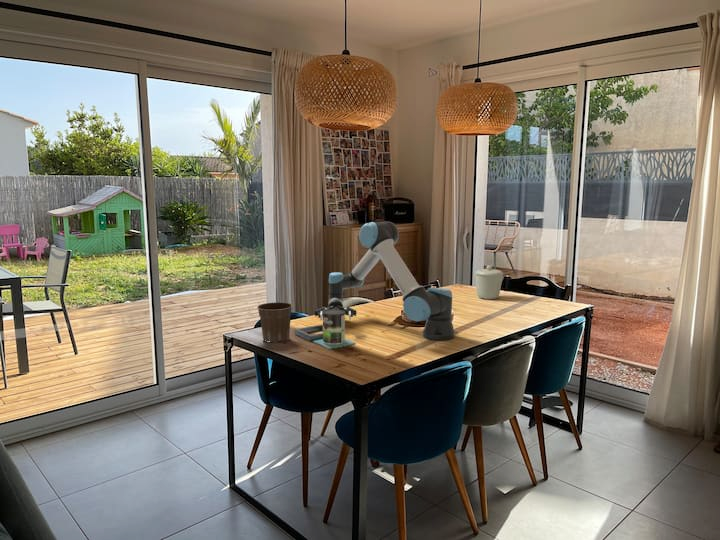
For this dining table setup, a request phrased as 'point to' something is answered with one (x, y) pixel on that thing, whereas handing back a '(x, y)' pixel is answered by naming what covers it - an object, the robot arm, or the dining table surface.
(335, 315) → the coffee can
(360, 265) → the robot arm
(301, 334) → the socket frame
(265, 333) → the plant pot
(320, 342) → the mat
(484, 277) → the canister
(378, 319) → the dining table surface
